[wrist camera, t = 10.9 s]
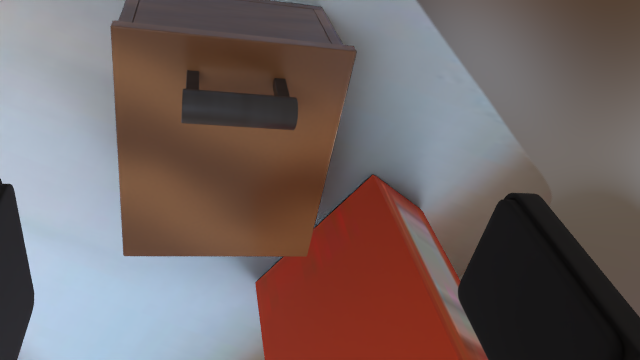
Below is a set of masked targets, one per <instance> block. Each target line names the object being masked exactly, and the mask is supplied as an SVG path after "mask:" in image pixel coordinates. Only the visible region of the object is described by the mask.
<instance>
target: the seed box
mask: <svg viewBox="0 0 640 360" xmlns="http://www.w3.org/2000/svg"><path fill="white" fill-rule="evenodd" d="M119 21H123V22H132V23H141V24H151V25H160V26H169V27H179V28H188V29H198V30H207V31H216V32H226V33H235V34H245V35H254V36H263V37H273V38H282V39H291V40H301V41H310V42H320V43H329V44H338V45H343V43H342V42H341V40H340V38H339V36H338V35H337V33H336V31H335V30H334V28H333V26H332V24H331V23H330V21H329V19H328V17H327V16H326V14H325V12H324V10H323V9H322V7H317V6H309V5H301V4H293V3H285V2H277V1H269V0H126V1H125V4H124V7H123V10H122V12H121V15H120V18H119Z"/></svg>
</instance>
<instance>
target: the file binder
mask: <svg viewBox="0 0 640 360" xmlns="http://www.w3.org/2000/svg"><path fill="white" fill-rule="evenodd" d="M255 284H256V292H257V300H258V308H259V316H260V324H261V332H262V340H263V348H264V356H265V360H488V358H487V356H486V354H485V352H484V350H483V348H482V346H481V344H480V342H479V340H478V338H477V336H476V334H475V332H474V330H473V328H472V326H471V324H470V322H469V320H468V318H467V316H466V314H465V312H464V310H463V308H462V306H461V304H460V301H459V298H458V286H459V284H460V280H459V278H458V276H457V274H456V272H455V270H454V269H453V267H452V265H451V263H450V261H449V259H448V258H447V256H446V254H445V252H444V250H443V248H442V246H441V245H440V243H439V241H438V239H437V237H436V235H435V233H434V232H433V230H432V228H431V226H430V224H429V222H428V221H427V219H426V217H425V215H424V213H423V212H422V211H421V209H420V208H418V207H417V206H416V205H414V204H413V203H412V202H410V201H409V200H408V199H406V198H405V197H404V196H402V195H401V194H400V193H398V192H397V191H395V190H394V189H393V188H391V187H390V186H389V185H387V184H386V183H385V182H383V181H382V180H381V179H379V178H378V177H377V176H374V175H372V176H371V177H370V178H369V179H368V180H367V181H365V182H364V183H363V184H362V185H361V186H360V187H359V188H358V189H357V190H356V191H355V192H354V193H352V194H351V195H350V196H349V197H348V198H347V199H346V200H345V201H344V202H343V203H342V204H340V205H339V206H338V207H337V208H336V209H335V210H334V211H333V212H332V213H331V214H330V215H328V216H327V217H326V218H325V219H324V220H323V221H322V222H321V223H320V224H319V225H318V226H317V227H315V228H314V229H313V233H312V237H311V242H310V246H309V250H308V254H307V256H306V257H305V256H284V257H283V258H282V259H281V260H280V261H278V262H277V263H276V264H275V265H274V266H273V267H272V268H271V269H270V270H269V271H268V272H267V273H265V274H264V275H263V276H262V277H261V278H260V279H259V280H258V281H257V282H256V283H255Z"/></svg>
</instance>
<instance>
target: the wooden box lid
mask: <svg viewBox="0 0 640 360" xmlns="http://www.w3.org/2000/svg"><path fill="white" fill-rule="evenodd" d="M111 42H112V60H113V78H114V96H115V113H116V131H117V149H118V167H119V184H120V202H121V220H122V238H123V255H124V256H305V257H306V256H307V254H308V250H309V246H310V242H311V237H312V233H313V229H314V225H315V221H316V217H317V213H318V209H319V204H320V200H321V196H322V192H323V188H324V184H325V180H326V176H327V172H328V167H329V163H330V159H331V155H332V151H333V147H334V143H335V139H336V135H337V130H338V126H339V122H340V118H341V114H342V110H343V106H344V102H345V97H346V93H347V89H348V85H349V81H350V77H351V73H352V69H353V65H354V60H355V56H356V50H355V48H354V46H348V45H338V44H329V43H320V42H310V41H301V40H291V39H282V38H273V37H263V36H254V35H245V34H235V33H226V32H216V31H207V30H198V29H188V28H179V27H169V26H160V25H151V24H141V23H132V22H123V21H112V24H111Z"/></svg>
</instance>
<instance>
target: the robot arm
mask: <svg viewBox="0 0 640 360" xmlns="http://www.w3.org/2000/svg"><path fill="white" fill-rule="evenodd" d="M458 298H459V301H460V304H461V306H462V308H463V310H464V312H465V314H466V316H467V318H468V320H469V322H470V324H471V326H472V328H473V330H474V332H475V334H476V336H477V338H478V340H479V342H480V344H481V346H482V348H483V350H484V352H485V354H486V356H487V358H488V360H640V317H639V316H638V315H637V314H636V312H635V311H634V310H633V309H632V307H630V305H629V304H628V303H627V301H626V300H625V299H624V298H623V297H622V295H621V294H620V293H619V292H618V290H617V289H616V288H615V287H614V286H613V284H612V283H611V282H610V281H609V279H608V278H607V277H606V276H605V275H604V273H603V272H602V271H601V270H600V268H599V267H598V266H597V265H596V264H595V262H594V261H593V260H592V259H591V257H590V256H589V255H588V254H587V253H586V251H585V250H584V249H583V248H582V247H581V245H580V244H579V243H578V242H577V240H576V239H575V238H574V237H573V235H572V234H571V233H570V232H569V231H568V229H567V228H566V227H565V226H564V224H563V223H562V222H561V221H560V220H559V219H558V217H557V216H556V215H555V213H554V212H553V211H552V210H551V209H550V207H549V206H548V205H547V204H546V202H545V201H544V200H543V199H542V198H541V197H540V196H539V195H537V194H528V193H510V194H508V195H507V196H506V197H505V198H504V200H501V201H499V202H498V204H497V206H496V208H495V210H494V212H493V214H492V216H491V218H490V220H489V223H488V225H487V227H486V229H485V231H484V233H483V235H482V237H481V239H480V241H479V244H478V246H477V248H476V250H475V252H474V254H473V256H472V258H471V260H470V263H469V265H468V267H467V269H466V271H465V273H464V275H463V277H462V279H461V281H460V284H459V286H458ZM33 305H34V289H33V284H32V279H31V274H30V269H29V264H28V259H27V254H26V248H25V243H24V238H23V233H22V228H21V223H20V218H19V213H18V208H17V202H16V197H15V192H14V188H13V186H12V185H11V184H2V181H1V179H0V360H17V358H18V355H19V352H20V349H21V346H22V342H23V339H24V336H25V333H26V330H27V327H28V323H29V320H30V317H31V314H32V310H33Z"/></svg>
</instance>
